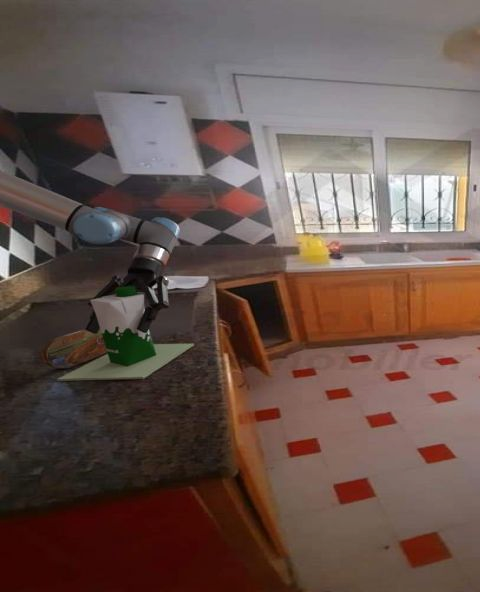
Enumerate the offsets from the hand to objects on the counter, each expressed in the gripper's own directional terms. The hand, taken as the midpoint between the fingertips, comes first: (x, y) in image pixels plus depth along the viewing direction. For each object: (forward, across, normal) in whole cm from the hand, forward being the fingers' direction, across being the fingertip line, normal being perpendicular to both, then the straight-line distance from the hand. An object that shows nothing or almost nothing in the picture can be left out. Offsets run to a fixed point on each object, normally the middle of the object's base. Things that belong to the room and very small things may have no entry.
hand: (116, 331), depth 83 cm
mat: (+5, 0, -9) cm, 10 cm away
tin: (+5, +14, -10) cm, 18 cm away
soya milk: (+5, 0, -9) cm, 10 cm away
